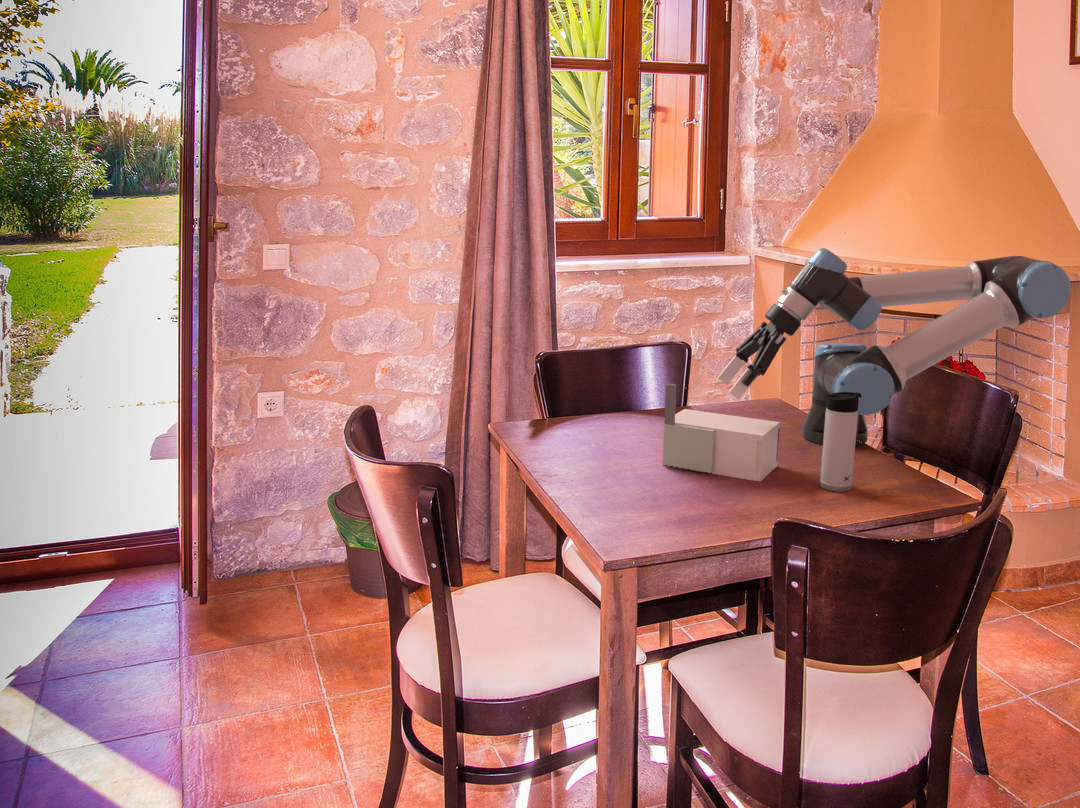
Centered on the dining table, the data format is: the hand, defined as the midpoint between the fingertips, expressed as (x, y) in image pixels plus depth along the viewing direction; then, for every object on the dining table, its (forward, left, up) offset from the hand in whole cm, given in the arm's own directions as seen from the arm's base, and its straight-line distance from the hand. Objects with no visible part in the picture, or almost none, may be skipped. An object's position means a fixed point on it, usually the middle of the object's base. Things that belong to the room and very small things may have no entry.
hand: (727, 388), depth 223 cm
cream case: (+3, +9, -15) cm, 18 cm away
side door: (+10, +12, -15) cm, 22 cm away
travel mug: (-19, +23, -16) cm, 33 cm away
